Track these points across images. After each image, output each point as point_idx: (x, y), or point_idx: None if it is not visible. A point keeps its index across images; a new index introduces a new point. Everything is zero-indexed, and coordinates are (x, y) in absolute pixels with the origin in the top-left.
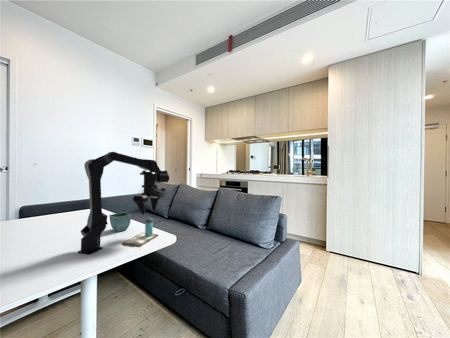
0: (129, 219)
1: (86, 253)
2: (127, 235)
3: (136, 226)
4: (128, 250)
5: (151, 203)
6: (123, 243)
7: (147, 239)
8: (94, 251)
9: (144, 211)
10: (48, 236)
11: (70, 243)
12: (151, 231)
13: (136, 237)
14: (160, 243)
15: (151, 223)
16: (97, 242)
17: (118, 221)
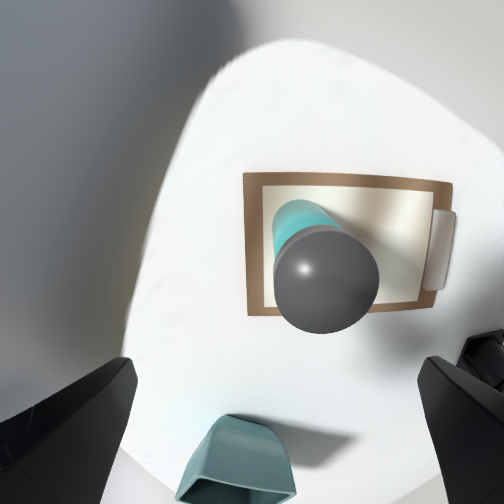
0: (214, 454)
1: (501, 342)
2: (302, 366)
3: (153, 399)
4: (485, 216)
5: (102, 492)
6: (434, 296)
7: (368, 191)
8: (495, 333)
9: (463, 379)
10: (352, 499)
11: (408, 445)
12: (311, 207)
13: None
14: (375, 80)
15: (334, 224)
16: (498, 356)
17: (281, 470)
